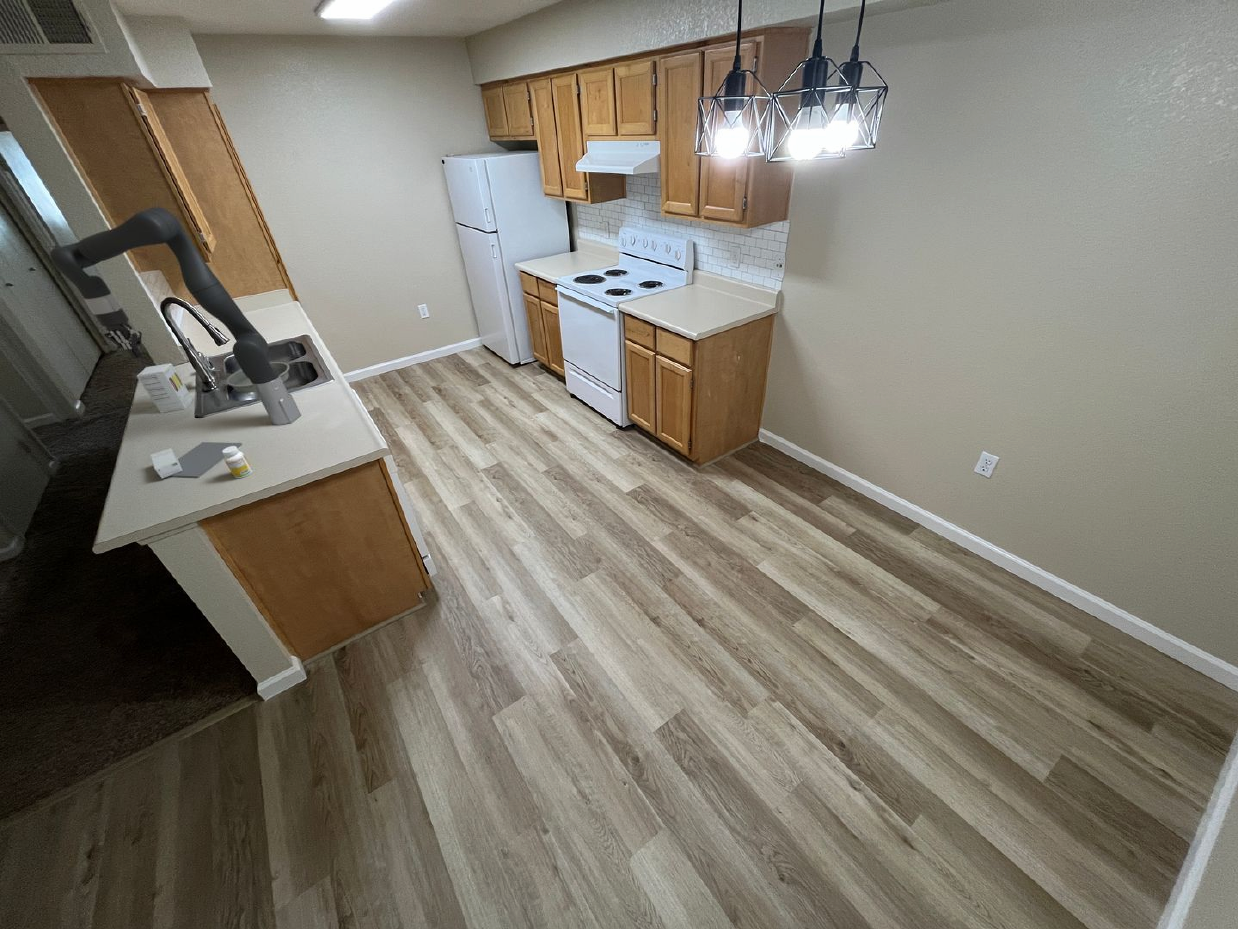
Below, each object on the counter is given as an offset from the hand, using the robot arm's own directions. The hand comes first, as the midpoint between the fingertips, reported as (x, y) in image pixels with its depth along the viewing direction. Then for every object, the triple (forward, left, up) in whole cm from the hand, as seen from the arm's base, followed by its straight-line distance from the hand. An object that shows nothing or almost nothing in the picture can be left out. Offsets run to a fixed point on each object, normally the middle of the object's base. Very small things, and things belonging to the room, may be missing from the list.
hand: (138, 357), depth 179 cm
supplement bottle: (-48, +27, -29) cm, 62 cm away
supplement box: (+19, -17, -29) cm, 39 cm away
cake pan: (-3, -40, -30) cm, 50 cm away
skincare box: (-15, +22, -26) cm, 37 cm away
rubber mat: (-26, +20, -29) cm, 43 cm away
